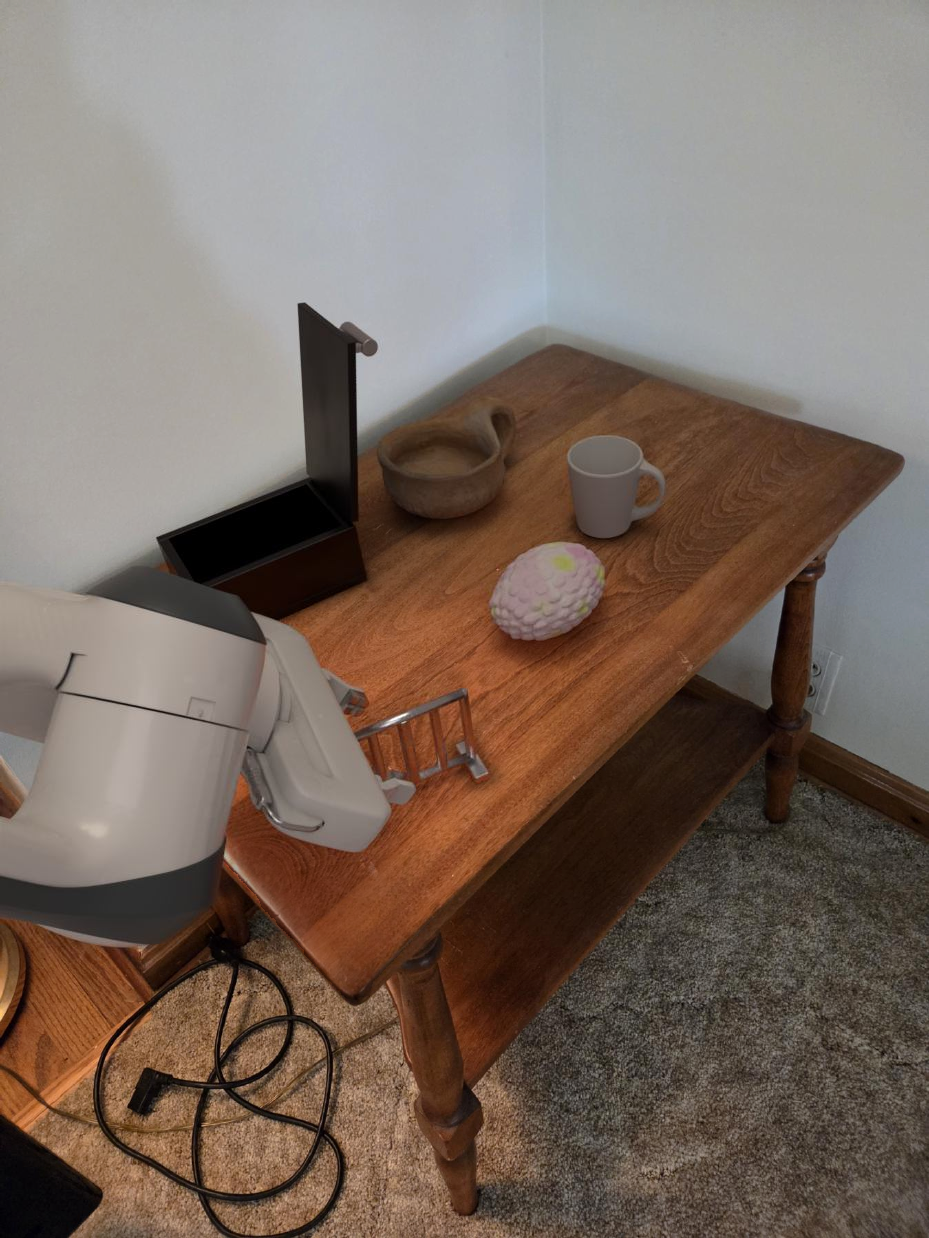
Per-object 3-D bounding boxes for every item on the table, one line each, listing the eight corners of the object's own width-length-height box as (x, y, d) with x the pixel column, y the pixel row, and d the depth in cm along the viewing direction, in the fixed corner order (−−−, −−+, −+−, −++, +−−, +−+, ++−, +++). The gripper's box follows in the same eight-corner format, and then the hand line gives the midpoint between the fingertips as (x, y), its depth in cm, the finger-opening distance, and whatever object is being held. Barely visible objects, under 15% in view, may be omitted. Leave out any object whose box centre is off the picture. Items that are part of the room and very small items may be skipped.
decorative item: (461, 613, 81) (520, 518, 78) (497, 601, 91) (551, 517, 88) (543, 672, 79) (607, 578, 76) (570, 653, 89) (628, 569, 87)
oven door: (347, 343, 77) (393, 336, 79) (297, 303, 84) (340, 297, 86) (351, 523, 88) (391, 512, 90) (306, 473, 95) (344, 465, 97)
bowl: (430, 428, 111) (442, 358, 104) (531, 476, 109) (551, 408, 101) (350, 506, 100) (357, 435, 93) (460, 563, 97) (476, 494, 90)
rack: (360, 835, 70) (339, 762, 64) (343, 798, 73) (321, 725, 67) (489, 778, 73) (481, 703, 67) (468, 744, 76) (458, 670, 70)
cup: (578, 498, 100) (577, 431, 95) (669, 510, 97) (674, 441, 91) (559, 539, 95) (557, 471, 89) (654, 553, 92) (659, 483, 86)
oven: (211, 649, 88) (189, 595, 83) (176, 590, 95) (155, 536, 90) (367, 580, 93) (355, 525, 88) (323, 529, 100) (310, 476, 96)
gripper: (291, 784, 50) (467, 816, 59) (209, 581, 65) (360, 632, 74) (235, 862, 52) (413, 882, 61) (167, 648, 67) (320, 690, 76)
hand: (384, 744), depth 68 cm, fingers open, 8 cm apart
